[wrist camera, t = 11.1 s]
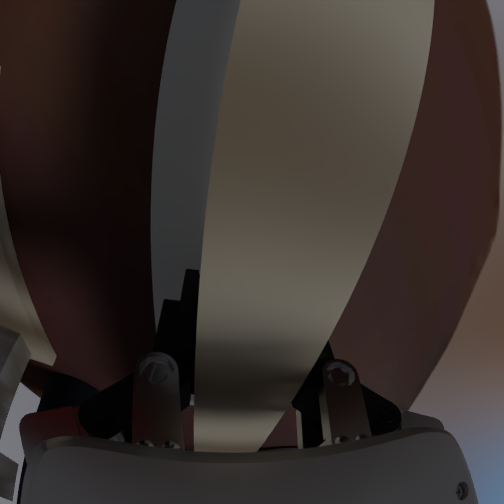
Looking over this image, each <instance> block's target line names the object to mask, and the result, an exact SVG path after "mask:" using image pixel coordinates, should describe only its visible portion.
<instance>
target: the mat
mask: <svg viewBox="0 0 504 504" xmlns="http://www.w3.org/2000/svg"><path fill="white" fill-rule="evenodd" d="M240 2H241V0H177V1H176V5H175V9H174V13H173V17H172V22H171V26H170V31H169V36H168V41H167V46H166V52H165V57H164V63H163V69H162V76H161V82H160V90H159V97H158V105H157V114H156V124H155V135H154V148H153V163H152V184H151V263H152V285H153V300H154V313H155V324H156V332H157V327H158V323H159V318H160V314H161V309H162V305H163V301H164V299H171V300H180V299H181V293H182V287H183V281H184V276H185V271H186V269H195V270H199V274H200V270H201V258H202V247H203V236H204V226H205V216H206V207H207V198H208V189H209V181H210V173H211V165H212V158H213V150H214V143H215V136H216V129H217V123H218V116H219V110H220V104H221V98H222V92H223V86H224V80H225V75H226V69H227V64H228V59H229V53H230V48H231V43H232V38H233V33H234V29H235V24H236V19H237V15H238V10H239V6H240ZM190 405H194V394H191V401H190Z"/></svg>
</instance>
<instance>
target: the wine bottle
mask: <svg viewBox="0 0 504 504" xmlns="http://www.w3.org/2000/svg"><path fill="white" fill-rule="evenodd" d="M97 393H99V391H97V390H96V389H95V388H93V387H91V386H89V385H88V384H86V383H84V382H82V381H80V380H78V379H75V378H72V377H69V376H66V375H60V374H54V375H51V376H50V377H49V378H48V380H47V383H46V386H45V388H44V391H43V394H42V397H41V400H40V403H39V406H38V409H37V412H41V411H46V410H52V409H57V408H62V407H67V406H72V407H73V408H74V407H79V406H80V405H81V404H82V403H83V402H84V401H85V400H86V399H88V398H90V397H92V396H93V395H95V394H97ZM26 468H27V462H26V458H25V457H24V462H23V467H22V472H21V478H20V484H19V490H18V498H17V504H20V502H21V493H22V486H23V480H24V476H25V471H26Z"/></svg>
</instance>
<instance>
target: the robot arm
mask: <svg viewBox="0 0 504 504" xmlns="http://www.w3.org/2000/svg"><path fill="white" fill-rule="evenodd" d="M199 283H200V274H199V270H195V269H186V271H185V276H184V281H183V287H182V293H181V299H180V300H171V299H164V301H163V305H162V309H161V314H160V318H159V323H158V327H157V332H156V337H155V342H154V347H153V352H150V353H147V354H145V355H143V356H142V357H140V358H139V359H138V361H137V362H136V365H135V370H134V373H132V374H131V375H129V376H127V377H126V378H124V379H122V380H120V381H119V382H117V383H115V384H113V385H111V386H110V387H108V388H106V389H104V390H102V391H101V392H99V393H97V394H95V395H93V396H92V397H90V398H88V399H86V400H85V401H84V402H83V403H82V404H81V405H80V406H79V407H74V408H73V407H72V406H67V407H62V408H57V409H52V410H46V411H41V412H35V413H30V414H27V415H25V416H24V417H23V418H22V419H21V422H20V424H19V425H20V426H19V429H20V436H21V441H22V445H23V450H24V454H25V458H26V462H27V468H26V471H25V476H24V480H23V486H22V493H21V502H20V504H478V500H477V496H476V492H475V489H474V485H473V482H472V478H471V475H470V471H469V469H468V466H467V463H466V460H465V458H464V455H463V453H462V451H461V449H460V447H459V444H458V443H457V441H456V440H455V438H454V437H453V436H452V435H451V434H450V433H449V432H447V431H446V430H444V426H443V424H442V423H441V422H440V421H439V420H438V419H436V418H433V417H429V416H425V415H421V414H417V413H414V412H410V411H406V410H403V411H400V410H399V409H398V407H397V406H396V405H394V404H393V403H392V402H390V401H388V400H387V399H385V398H383V397H382V396H380V395H378V394H377V393H375V392H373V391H372V390H370V389H368V388H367V387H365V386H364V385H362V384H360V380H359V376H358V373H357V370H356V369H355V368H354V366H353V365H352V364H350V363H349V362H347V361H345V360H341V359H334V356H333V353H332V350H331V347H330V344H329V341H327V343H326V345H325V346H324V348H323V350H322V352H321V354H320V355H319V357H318V359H317V361H316V362H315V364H314V366H313V368H312V369H311V371H310V373H309V374H308V376H307V378H306V379H305V381H304V383H303V384H302V386H301V388H300V389H299V391H298V392H297V394H296V395H295V397H294V399H293V400H292V402H291V403H292V406H293V407H294V408H295V409H297V410H296V417H297V435H298V448H277V449H268V450H260V451H257V452H244V453H229V452H200V451H187V450H185V447H184V438H183V427H182V415H181V411H182V410H184V409H185V408H186V407H188V406H189V405H190V401H191V394H194V384H195V353H196V331H197V313H198V297H199Z"/></svg>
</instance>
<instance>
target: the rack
mask: <svg viewBox="0 0 504 504" xmlns="http://www.w3.org/2000/svg"><path fill="white" fill-rule="evenodd" d="M0 71H1V66H0ZM56 357H57V356H56V354H55V352H54V350H53V348H52V346H51V344H50V342H49V340H48V338H47V336H46V334H45V331H44V329H43V327H42V325H41V322H40V320H39V318H38V315H37V313H36V311H35V308H34V306H33V303H32V301H31V298H30V295H29V293H28V290H27V287H26V284H25V281H24V278H23V275H22V272H21V269H20V266H19V263H18V259H17V256H16V252H15V249H14V245H13V241H12V237H11V233H10V228H9V224H8V219H7V214H6V209H5V203H4V197H3V191H2V184H1V176H0V438H1V435H2V431H3V428H4V425H5V421H6V418H7V415H8V412H9V409H10V406H11V403H12V401H13V398H14V395H15V392H16V390H17V387H18V385H19V383H20V380H21V378H22V375H23V373H24V371H25V368H26V366H27V364H28V361H29V359H33V360H36V361H39V362H42V363H45V364H48V365H51V366H53V364H54V361H55V359H56ZM17 469H18V464H17V463H16V462H14V461H12V460H11V459H9V458H8V457H6V456H5V455H3V454H2V453H0V497H3V498H5V499H8V500H10V501H12V500H13V494H14V487H15V480H16V475H17Z"/></svg>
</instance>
